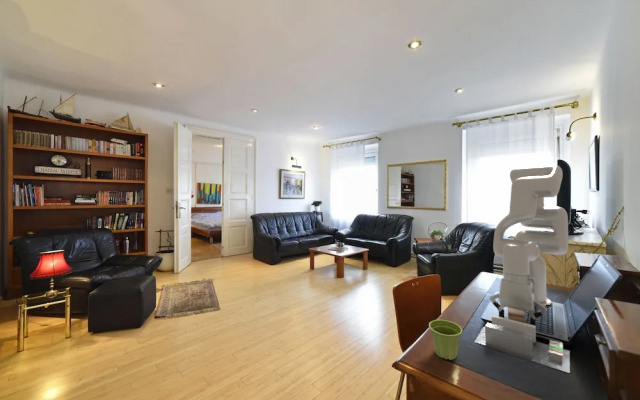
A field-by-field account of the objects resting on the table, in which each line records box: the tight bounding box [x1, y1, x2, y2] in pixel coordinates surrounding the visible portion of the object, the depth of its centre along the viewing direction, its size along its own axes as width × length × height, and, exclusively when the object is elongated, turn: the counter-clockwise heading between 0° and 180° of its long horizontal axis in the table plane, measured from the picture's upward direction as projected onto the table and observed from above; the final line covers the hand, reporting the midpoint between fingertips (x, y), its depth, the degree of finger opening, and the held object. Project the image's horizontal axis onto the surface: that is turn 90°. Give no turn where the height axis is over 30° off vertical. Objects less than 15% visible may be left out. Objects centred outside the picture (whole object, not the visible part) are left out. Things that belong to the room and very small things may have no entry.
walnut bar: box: [507, 307, 528, 324], centre depth 95 cm, size 12×5×5 cm, turn 145°
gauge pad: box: [491, 314, 562, 343], centre depth 87 cm, size 2×18×5 cm, turn 46°
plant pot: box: [428, 319, 463, 361], centre depth 81 cm, size 9×9×9 cm
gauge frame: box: [474, 322, 571, 375], centre depth 83 cm, size 13×23×6 cm, turn 46°
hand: (516, 324), depth 95 cm, fingers open, 8 cm apart
